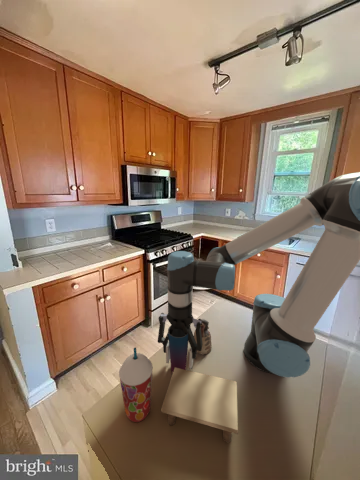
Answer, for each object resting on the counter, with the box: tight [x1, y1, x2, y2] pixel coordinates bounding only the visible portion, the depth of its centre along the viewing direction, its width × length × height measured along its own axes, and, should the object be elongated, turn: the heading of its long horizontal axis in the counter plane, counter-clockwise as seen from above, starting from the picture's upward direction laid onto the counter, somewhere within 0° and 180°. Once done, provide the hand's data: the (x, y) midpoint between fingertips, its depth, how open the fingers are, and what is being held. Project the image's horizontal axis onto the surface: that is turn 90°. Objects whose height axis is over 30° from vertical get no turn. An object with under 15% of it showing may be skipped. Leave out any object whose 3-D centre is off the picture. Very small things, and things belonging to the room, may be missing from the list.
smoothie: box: [118, 347, 153, 423], centre depth 51 cm, size 8×8×20 cm
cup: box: [167, 325, 189, 374], centre depth 65 cm, size 7×7×15 cm
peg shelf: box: [160, 368, 239, 443], centre depth 52 cm, size 18×12×6 cm, turn 76°
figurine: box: [193, 318, 213, 355], centre depth 74 cm, size 7×7×12 cm
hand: (179, 362), depth 66 cm, fingers open, 7 cm apart
